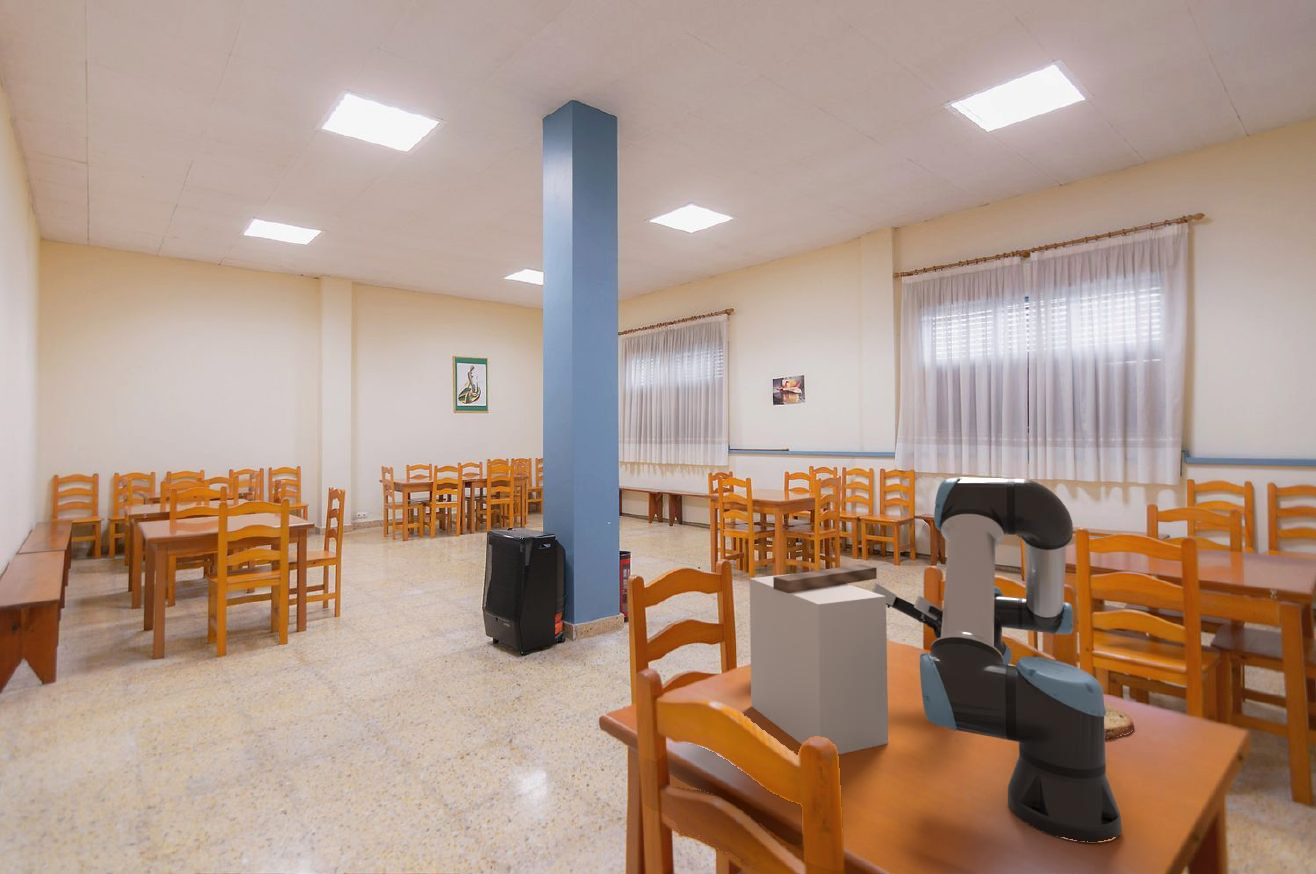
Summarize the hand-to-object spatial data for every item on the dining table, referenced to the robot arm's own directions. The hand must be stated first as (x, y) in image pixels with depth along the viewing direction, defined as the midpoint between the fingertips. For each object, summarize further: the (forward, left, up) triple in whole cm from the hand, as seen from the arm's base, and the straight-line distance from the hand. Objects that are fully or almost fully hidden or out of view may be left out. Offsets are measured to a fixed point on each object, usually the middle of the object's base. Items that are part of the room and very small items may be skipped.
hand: (894, 594), depth 142 cm
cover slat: (-10, +14, +4) cm, 18 cm away
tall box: (-14, +17, -25) cm, 33 cm away
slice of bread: (+2, -36, -26) cm, 44 cm away
